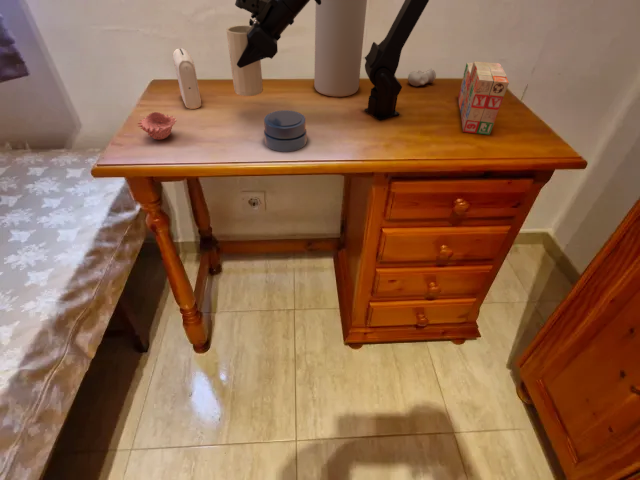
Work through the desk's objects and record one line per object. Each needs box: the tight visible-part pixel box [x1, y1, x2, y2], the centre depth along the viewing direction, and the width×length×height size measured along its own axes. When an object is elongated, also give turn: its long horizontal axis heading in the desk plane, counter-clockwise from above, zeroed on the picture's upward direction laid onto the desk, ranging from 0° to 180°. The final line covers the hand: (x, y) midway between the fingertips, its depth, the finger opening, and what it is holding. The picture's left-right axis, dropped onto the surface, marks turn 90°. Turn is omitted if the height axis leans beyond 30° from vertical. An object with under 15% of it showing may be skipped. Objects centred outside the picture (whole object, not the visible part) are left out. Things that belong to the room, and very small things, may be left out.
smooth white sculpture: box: [407, 68, 437, 87], centre depth 109 cm, size 4×8×5 cm
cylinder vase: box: [313, 0, 368, 98], centre depth 98 cm, size 12×12×25 cm
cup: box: [225, 24, 264, 97], centre depth 84 cm, size 7×7×13 cm
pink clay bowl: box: [137, 111, 177, 141], centre depth 81 cm, size 8×8×6 cm
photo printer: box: [172, 47, 202, 110], centre depth 93 cm, size 10×4×12 cm, turn 23°
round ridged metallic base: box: [263, 109, 308, 153], centre depth 81 cm, size 9×9×5 cm
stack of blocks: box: [457, 61, 510, 136], centre depth 92 cm, size 21×6×12 cm, turn 168°
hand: (239, 61), depth 84 cm, fingers closed on cup, 7 cm apart
